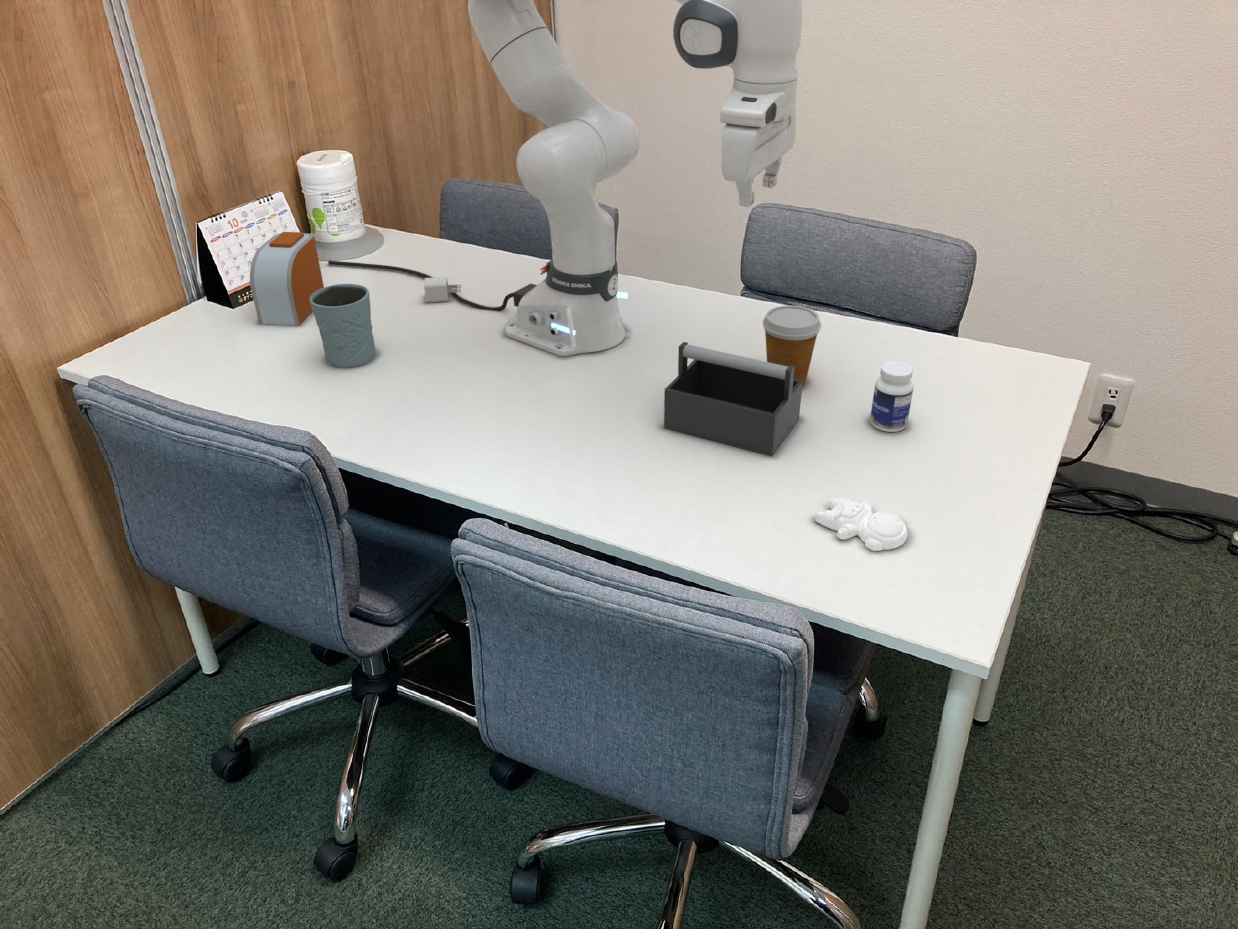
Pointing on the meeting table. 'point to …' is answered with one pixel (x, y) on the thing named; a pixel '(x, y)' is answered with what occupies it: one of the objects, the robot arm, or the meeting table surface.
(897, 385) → the pill bottle
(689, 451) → the meeting table surface
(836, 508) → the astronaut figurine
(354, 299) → the green embossed cup
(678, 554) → the meeting table surface
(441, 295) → the usb wall charger
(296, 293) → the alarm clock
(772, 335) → the disposable coffee cup
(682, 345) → the black bin
